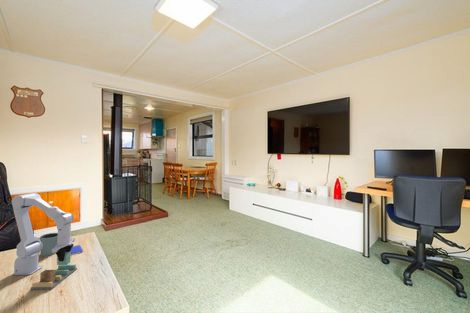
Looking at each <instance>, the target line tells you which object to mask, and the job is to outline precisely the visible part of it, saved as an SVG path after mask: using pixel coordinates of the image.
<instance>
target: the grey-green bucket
mask: <svg viewBox="0 0 470 313" xmlns="http://www.w3.org/2000/svg"><path fill="white" fill-rule="evenodd" d="M39 239H40V241H41V243H42V245H43V247H42V249H41V250H40V253H39V254H40V256H41V257H49V256H52V255H56V254H55V253H52V249H53V248H54V247H55V246H56V245H57V241H58V232H50V233H46V234H42V235H40V236H39Z"/></svg>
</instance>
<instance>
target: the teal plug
mask: <svg viewBox="0 0 470 313" xmlns="http://www.w3.org/2000/svg"><path fill="white" fill-rule="evenodd" d="M71 256H72V255H71V252H65V256H64V261H59V260H58V257H57V256H56V265H57V266H58V265H70V263H71Z"/></svg>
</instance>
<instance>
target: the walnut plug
mask: <svg viewBox="0 0 470 313" xmlns="http://www.w3.org/2000/svg"><path fill="white" fill-rule="evenodd" d="M56 270H57V269H44V270H43V271H41V272H40V273H39V274H40V275H39V277H40V279H39V282H53V283H54V282H55V272H56Z"/></svg>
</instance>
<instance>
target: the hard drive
mask: <svg viewBox="0 0 470 313" xmlns="http://www.w3.org/2000/svg"><path fill="white" fill-rule="evenodd" d="M70 252H71V255H70V256H73V254H74V255H76V253H77V254H81V253H84V249H83V247H82V246H81V245H80V244H78V245H73V247H72V249H71V251H70Z"/></svg>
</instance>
